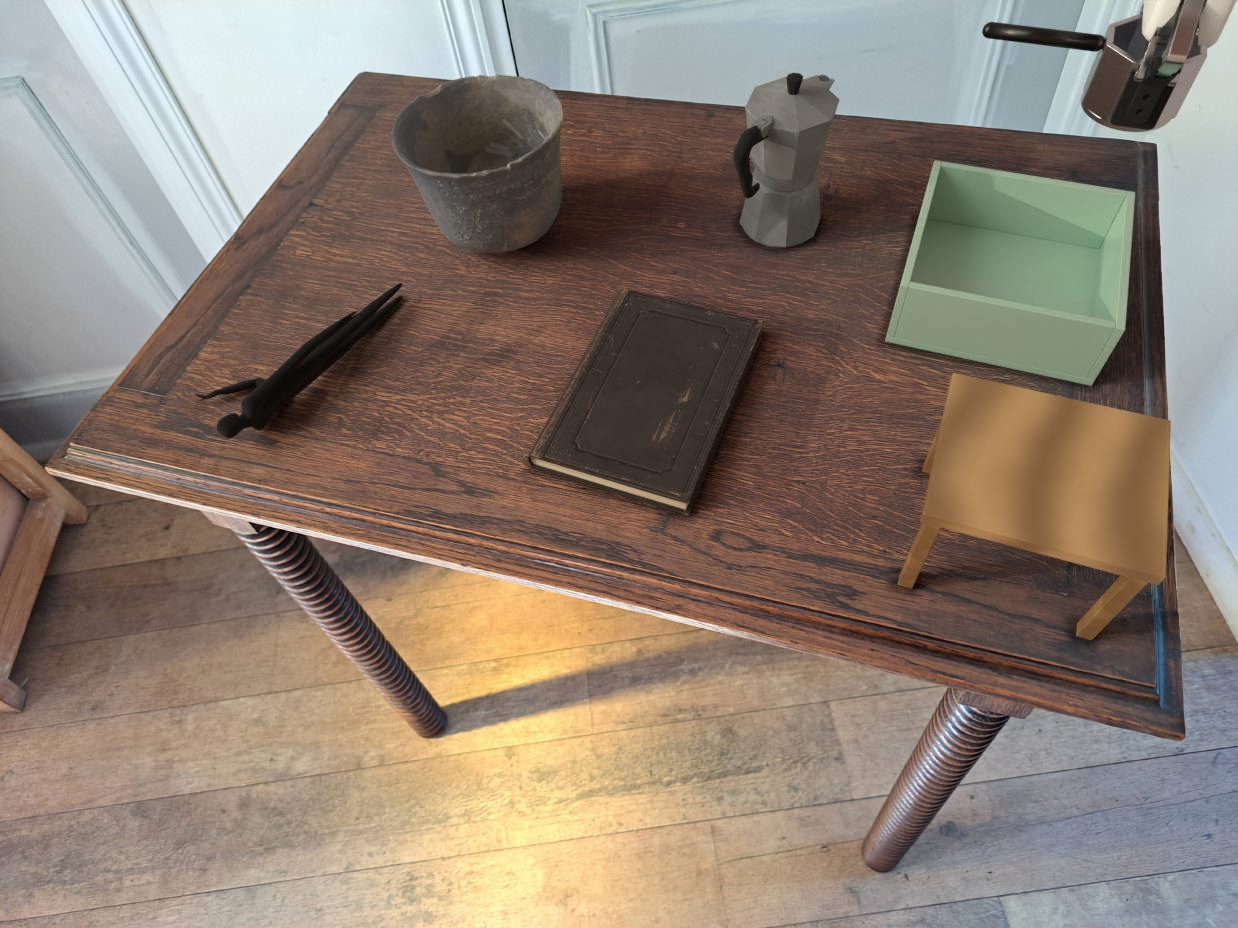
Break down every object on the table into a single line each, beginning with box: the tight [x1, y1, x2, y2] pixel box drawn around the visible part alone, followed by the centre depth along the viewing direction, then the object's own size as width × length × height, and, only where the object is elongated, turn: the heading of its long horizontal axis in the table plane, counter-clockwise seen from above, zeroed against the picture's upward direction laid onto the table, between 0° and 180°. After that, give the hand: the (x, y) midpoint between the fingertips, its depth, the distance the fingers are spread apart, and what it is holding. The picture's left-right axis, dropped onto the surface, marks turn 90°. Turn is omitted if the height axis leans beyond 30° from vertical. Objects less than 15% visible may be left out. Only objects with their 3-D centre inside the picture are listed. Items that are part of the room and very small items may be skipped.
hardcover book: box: [527, 288, 765, 516], centre depth 84 cm, size 16×23×2 cm
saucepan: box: [981, 14, 1208, 133], centre depth 69 cm, size 16×7×6 cm, turn 69°
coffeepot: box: [732, 72, 840, 248], centre depth 90 cm, size 15×9×18 cm, turn 137°
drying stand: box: [897, 372, 1172, 641], centre depth 68 cm, size 16×14×12 cm
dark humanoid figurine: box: [194, 282, 403, 439], centre depth 89 cm, size 8×9×25 cm
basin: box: [884, 159, 1136, 387], centre depth 86 cm, size 20×20×8 cm
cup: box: [390, 74, 564, 254], centre depth 94 cm, size 18×18×15 cm
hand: (1133, 95), depth 69 cm, fingers closed on saucepan, 7 cm apart
